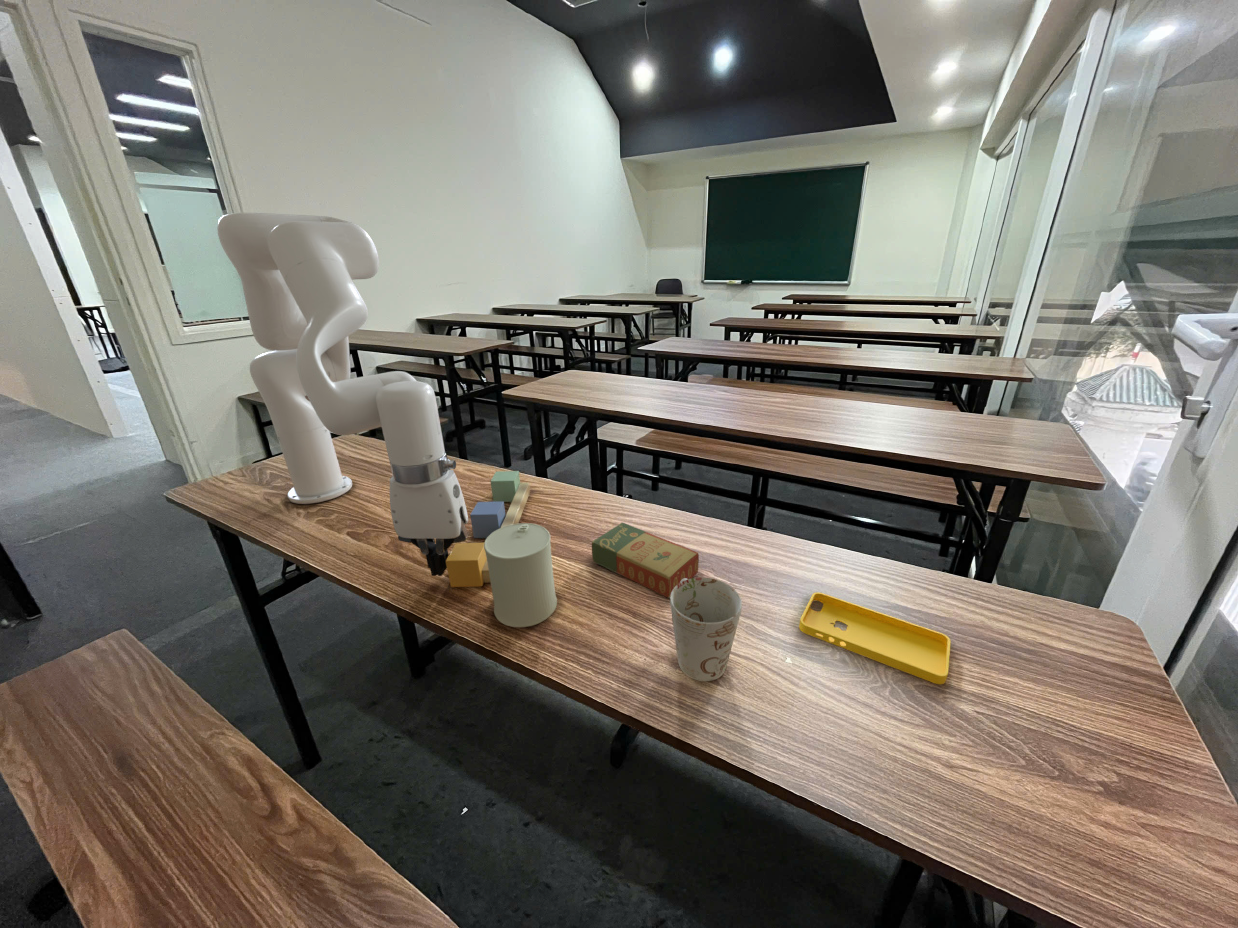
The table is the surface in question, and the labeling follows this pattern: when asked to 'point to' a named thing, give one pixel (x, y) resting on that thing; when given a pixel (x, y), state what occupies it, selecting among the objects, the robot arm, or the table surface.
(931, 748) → the table surface
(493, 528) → the block mid
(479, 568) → the block near
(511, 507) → the wooden bar
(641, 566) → the carton
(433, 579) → the table surface
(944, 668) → the phone case
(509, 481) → the block far
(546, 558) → the can
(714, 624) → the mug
